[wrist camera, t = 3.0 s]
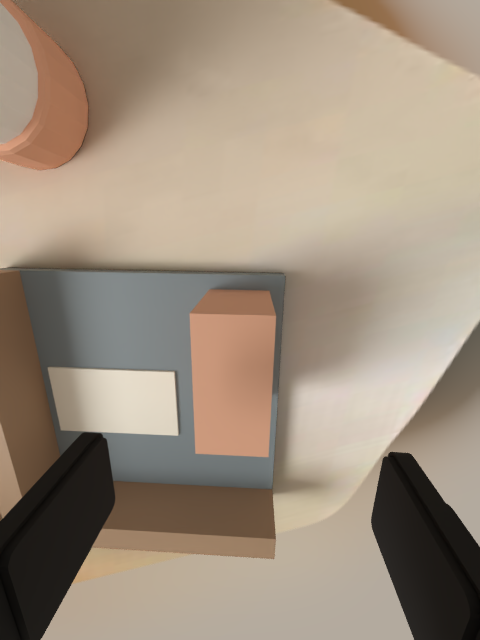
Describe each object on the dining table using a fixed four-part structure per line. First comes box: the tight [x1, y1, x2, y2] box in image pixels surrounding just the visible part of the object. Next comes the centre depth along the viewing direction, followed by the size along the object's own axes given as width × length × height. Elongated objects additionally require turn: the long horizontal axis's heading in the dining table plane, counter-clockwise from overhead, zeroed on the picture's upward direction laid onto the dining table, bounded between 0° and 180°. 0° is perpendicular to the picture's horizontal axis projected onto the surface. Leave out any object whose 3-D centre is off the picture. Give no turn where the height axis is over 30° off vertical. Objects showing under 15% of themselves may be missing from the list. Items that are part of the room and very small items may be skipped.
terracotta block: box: [190, 289, 276, 457], centre depth 17 cm, size 8×4×6 cm, turn 179°
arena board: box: [0, 268, 285, 559], centre depth 20 cm, size 20×20×5 cm
